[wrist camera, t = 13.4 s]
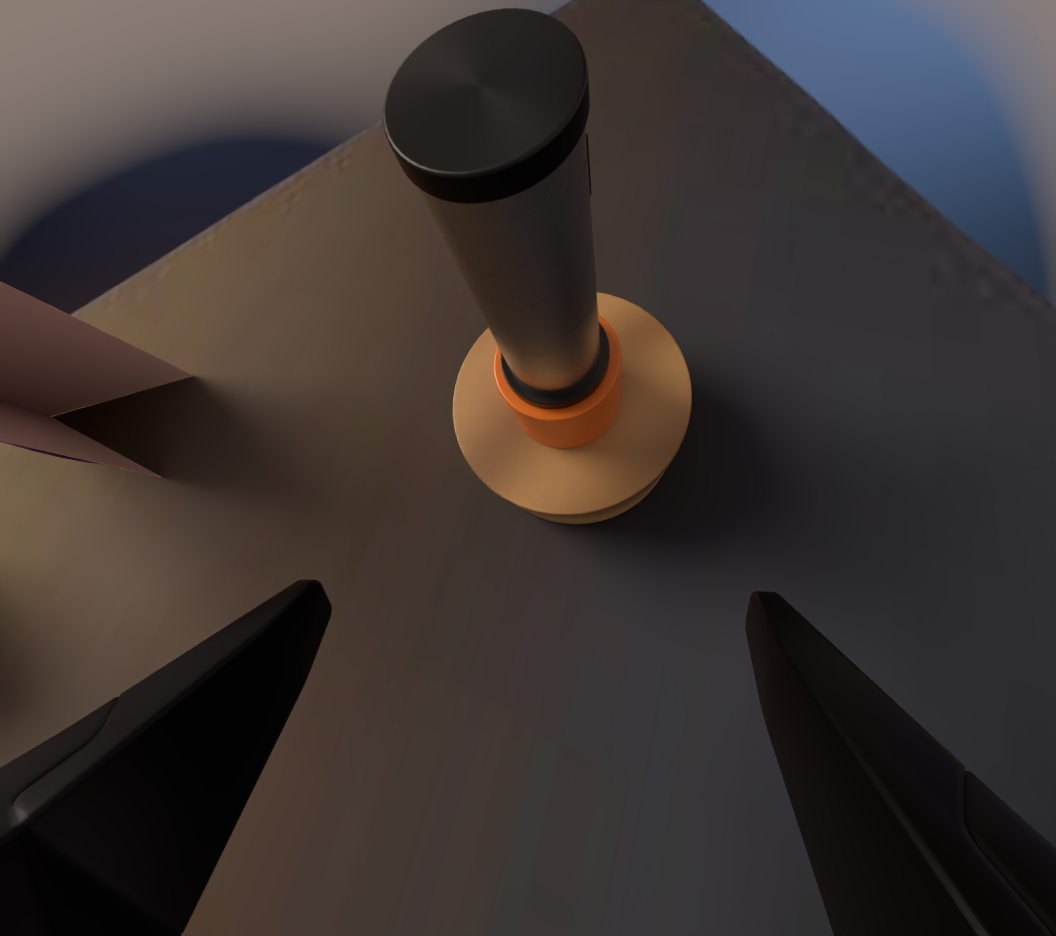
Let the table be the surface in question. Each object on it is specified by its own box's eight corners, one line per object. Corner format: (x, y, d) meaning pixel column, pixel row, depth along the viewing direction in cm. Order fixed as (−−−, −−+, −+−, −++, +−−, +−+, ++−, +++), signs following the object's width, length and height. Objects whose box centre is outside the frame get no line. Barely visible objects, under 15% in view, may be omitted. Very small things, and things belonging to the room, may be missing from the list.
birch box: (722, 423, 22) (748, 385, 18) (576, 571, 22) (566, 569, 18) (574, 306, 25) (566, 250, 21) (443, 434, 25) (408, 404, 21)
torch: (580, 469, 19) (511, 255, 6) (493, 414, 20) (296, 148, 8) (641, 379, 19) (687, 15, 7) (552, 331, 20) (455, -45, 8)
